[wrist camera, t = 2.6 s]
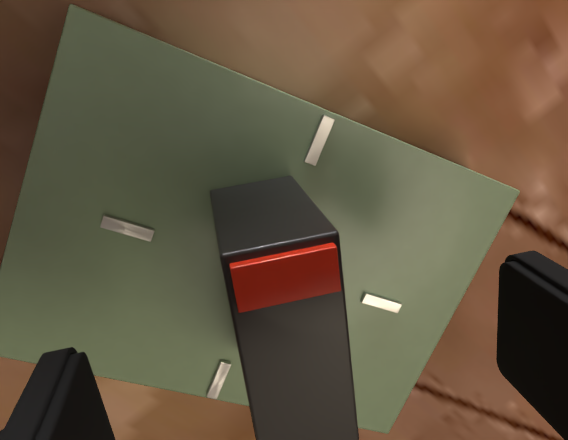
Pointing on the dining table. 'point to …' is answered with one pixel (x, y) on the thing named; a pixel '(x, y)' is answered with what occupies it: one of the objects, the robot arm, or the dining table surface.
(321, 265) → the red-striped black box
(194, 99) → the panel
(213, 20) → the dining table surface
